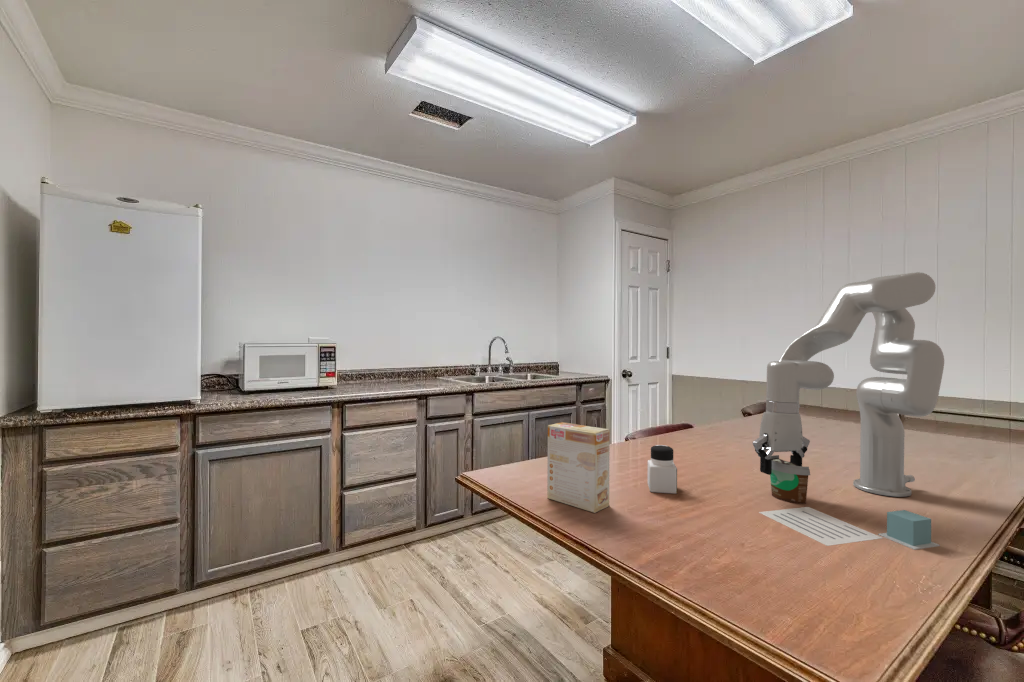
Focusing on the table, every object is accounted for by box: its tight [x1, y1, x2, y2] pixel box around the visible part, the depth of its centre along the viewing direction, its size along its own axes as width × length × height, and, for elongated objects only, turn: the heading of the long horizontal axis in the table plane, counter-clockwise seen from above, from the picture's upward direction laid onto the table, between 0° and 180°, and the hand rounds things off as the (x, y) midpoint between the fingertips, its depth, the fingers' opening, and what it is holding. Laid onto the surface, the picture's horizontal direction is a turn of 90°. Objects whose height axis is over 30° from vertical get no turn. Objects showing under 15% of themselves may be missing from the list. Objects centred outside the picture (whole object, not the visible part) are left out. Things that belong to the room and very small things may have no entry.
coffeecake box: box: [546, 422, 611, 514], centre depth 115 cm, size 15×7×20 cm, turn 47°
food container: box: [769, 454, 811, 505], centre depth 119 cm, size 12×6×10 cm, turn 5°
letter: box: [758, 506, 883, 547], centre depth 102 cm, size 15×18×1 cm
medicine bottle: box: [647, 444, 678, 495], centre depth 126 cm, size 7×7×12 cm
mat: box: [877, 532, 941, 551], centre depth 94 cm, size 7×7×1 cm
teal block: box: [886, 509, 932, 546], centre depth 94 cm, size 5×5×5 cm
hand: (780, 472), depth 119 cm, fingers open, 9 cm apart
